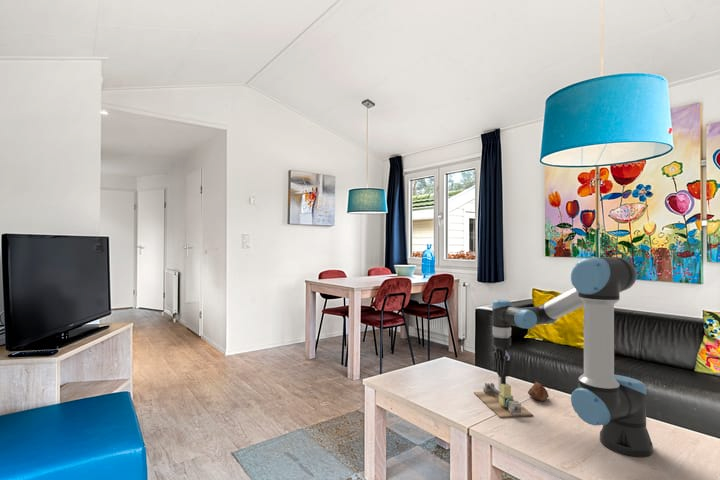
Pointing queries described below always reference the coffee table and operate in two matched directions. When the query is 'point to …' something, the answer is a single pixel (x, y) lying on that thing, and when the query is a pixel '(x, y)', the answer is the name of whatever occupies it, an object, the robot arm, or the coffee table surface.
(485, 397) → the brown flat board
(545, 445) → the coffee table surface
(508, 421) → the coffee table surface
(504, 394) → the yellow sliding block
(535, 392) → the fossil
